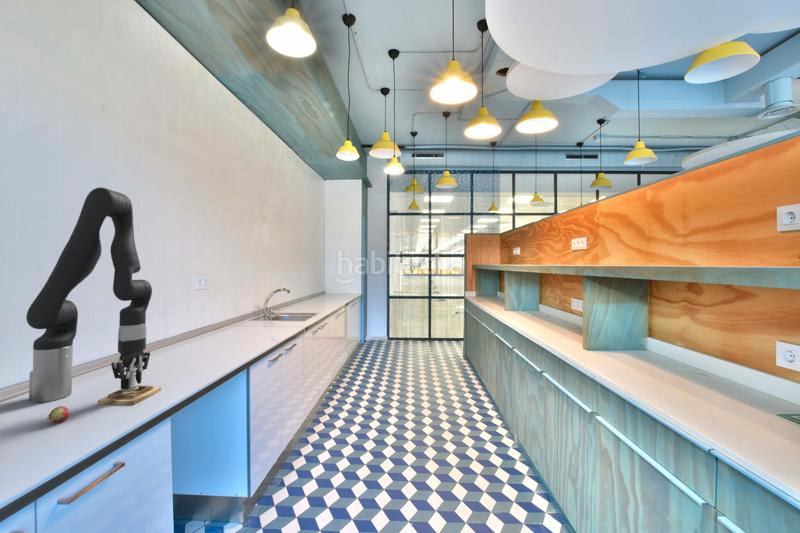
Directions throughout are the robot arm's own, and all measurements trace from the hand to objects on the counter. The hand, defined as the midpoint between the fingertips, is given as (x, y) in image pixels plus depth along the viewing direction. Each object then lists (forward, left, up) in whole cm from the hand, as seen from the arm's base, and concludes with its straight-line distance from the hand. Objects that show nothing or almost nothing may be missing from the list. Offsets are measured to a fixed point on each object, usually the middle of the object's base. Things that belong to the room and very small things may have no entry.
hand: (131, 386), depth 111 cm
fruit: (-6, -18, -4) cm, 19 cm away
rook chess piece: (0, 0, -2) cm, 2 cm away
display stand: (0, 0, -4) cm, 4 cm away
